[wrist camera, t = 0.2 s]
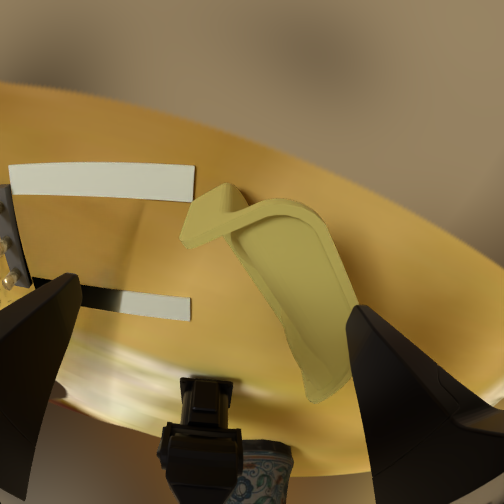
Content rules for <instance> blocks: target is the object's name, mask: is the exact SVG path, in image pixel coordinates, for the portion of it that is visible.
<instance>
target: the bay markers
mask: <svg viewBox="0 0 504 504" xmlns="http://www.w3.org/2000/svg"><path fill="white" fill-rule="evenodd" d="M194 171H195V166H191V165H175V164H157V163H129V162H59V163H34V164H17V165H9V174H10V182H11V189H12V194H29V195H74V196H99V197H120V198H138V199H153V200H168V201H181V202H192V201H193V187H194ZM32 280H33V283H34V287H35V290H36V289H37V288H39V287H41V286H43V285H45V284H46V283H48V282H50V281H52V280H50V279H44V278H38V277H33V276H32ZM80 286H81V290H82V303H81V306H83V307H88V308H94V309H100V310H107V311H113V312H120V313H127V314H134V315H141V316H149V317H157V318H166V319H174V320H184V321H190V298H186V297H176V296H167V295H158V294H149V293H141V292H133V291H125V290H117V289H110V288H102V287H95V286H88V285H82V284H80Z"/></svg>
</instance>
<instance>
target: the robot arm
mask: <svg viewBox="0 0 504 504" xmlns="http://www.w3.org/2000/svg"><path fill="white" fill-rule="evenodd" d="M81 303H82V290H81V286H80V281H79V277H78V275H77V274H73V273H64V274H63V275H61V276H59V277H57V278H55V279H54V280H52V281H50V282H48V283H46V284H45V285H43V286H41V287H39V288H37V289H36V290H34V291H32V292H30V293H29V294H27V295H25V296H24V297H22V298H20V299H18V300H17V301H15V302H13V303H12V304H10V305H8V306H7V307H5V308H3V309H2V310H0V488H1V489H3V490H4V491H6V492H8V493H10V494H12V495H14V496H15V497H17V498H19V499H21V500H23V501H25V499H26V494H27V488H28V482H29V476H30V471H31V466H32V461H33V457H34V452H35V446H36V443H37V439H38V435H39V431H40V427H41V424H42V420H43V417H44V413H45V410H46V407H47V403H48V400H49V397H50V394H51V391H52V388H53V385H54V382H55V379H56V376H57V373H58V371H59V368H60V365H61V362H62V360H63V357H64V354H65V352H66V349H67V347H68V344H69V341H70V339H71V335H72V332H73V329H74V325H75V322H76V319H77V315H78V312H79V309H80V306H81ZM345 330H346V337H347V345H348V353H349V361H350V368H351V372H352V377H353V381H354V386H355V390H356V395H357V399H358V404H359V408H360V413H361V418H362V423H363V428H364V433H365V438H366V444H367V449H368V455H369V461H370V466H371V472H372V477H373V478H372V480H373V486H374V493H375V500H376V504H504V410H500V409H496V408H494V407H492V406H491V405H489V404H488V403H486V402H485V401H484V400H482V399H481V398H480V397H478V396H477V395H476V394H474V393H473V392H472V391H470V390H469V389H468V388H466V387H465V386H464V385H462V384H461V383H460V382H458V381H457V380H456V379H455V378H453V377H452V376H451V375H450V374H449V373H447V372H446V371H445V370H444V369H443V368H442V367H440V366H439V365H437V363H436V362H434V361H433V360H432V359H431V358H430V357H429V356H427V355H426V354H425V353H424V352H423V351H421V350H420V349H419V348H418V347H417V346H416V345H414V344H413V343H412V342H411V341H410V340H408V339H407V338H406V337H405V336H404V335H402V334H401V333H400V332H399V331H398V330H396V329H395V328H394V327H393V326H391V325H390V324H389V323H388V322H387V321H385V320H384V319H383V318H382V317H380V316H379V315H378V314H377V313H376V312H374V311H373V310H372V309H371V308H369V307H368V306H367V305H355V306H354V307H353V309H352V311H351V313H350V316H349V318H348V320H347V322H346V327H345ZM180 388H181V398H182V404H183V406H182V414H181V423H180V424H175V423H172V422H167V426H166V427H163V431H162V437H161V441H160V444H159V447H158V450H157V457H158V458H159V459H160V462H161V466H162V469H164V470H166V479H167V482H168V485H169V487H170V490H171V491H172V493H173V495H174V497H175V498H176V500H177V502H178V503H179V504H225V503H226V502H227V501H228V499H229V498H230V496H231V495H232V493H233V491H234V489H235V487H236V485H237V482H238V476H242V473H243V446H242V435H241V429H238V428H236V429H228V408H230V403H231V396H232V389H233V383H232V382H230V381H216V380H204V379H194V378H184V377H182V378H180ZM0 504H1V503H0Z"/></svg>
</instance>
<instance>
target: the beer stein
mask: <svg viewBox="0 0 504 504" xmlns="http://www.w3.org/2000/svg"><path fill="white" fill-rule="evenodd" d="M242 446H243V473H242V476H238V482H237V485H236V487H235V489H234V491H233V493H232V495H231V496H230V498H229V499H228V501H227V502H226V503H225V504H286V497H287V489H288V481H289V477H290V473H291V470H292V468H293V465H294V461H293V458H292V455H291V449H290V446H287V445H285V444H283V443H281V442H277V441H270V440H242Z"/></svg>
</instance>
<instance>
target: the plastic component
mask: <svg viewBox="0 0 504 504" xmlns="http://www.w3.org/2000/svg"><path fill="white" fill-rule="evenodd" d="M221 236H223V237H224V239H225V240H226V242H227V243H228V245H229V246H230V248H231V249H232V251H233V252H234V254H235V255H236V257H237V258H238V260H239V261H240V262H241V264H242V265H243V267H244V268H245V270H246V271H247V273H248V274H249V276H250V277H251V279H252V280H253V282H254V283H255V285H256V286H257V287H258V289H259V290H260V292H261V293H262V295H263V296H264V298H265V299H266V301H267V302H268V303H269V305H270V306H271V308H272V309H273V311H274V312H275V314H276V315H277V317H278V318H279V320H280V322H281V323H282V325H283V327H284V331H285V334H286V338H287V341H288V344H289V347H290V349H291V351H292V354H293V356H294V358H295V360H296V362H297V363H298V365H299V367H300V368H301V372H302V377H303V382H304V387H305V392H306V397H307V399H308V400H309V401H310V402H312V403H314V404H317V403H320V402H322V401H324V400H325V399H327V398H329V397H330V396H332V395H333V394H334V393H336V392H337V391H338V390H339V389H340V388H342V387H343V386H344V385H345V384H346V383H347V382H348V380H349V379H350V378H351V377H352V372H351V368H350V361H349V353H348V345H347V337H346V330H345V327H346V322H347V320H348V318H349V316H350V313H351V311H352V309H353V307H354V306H355V305H359V303H358V300H357V297H356V295H355V292H354V290H353V287H352V285H351V282H350V280H349V278H348V275H347V273H346V270H345V268H344V265H343V263H342V261H341V258H340V256H339V254H338V251H337V249H336V247H335V244H334V242H333V240H332V238H331V235H330V233H329V231H328V229H327V226H326V224H325V223H324V221H323V220H322V218H321V217H320V216H319V215H318V214H317V213H316V212H315V211H314V210H312V209H311V208H310V207H308V206H306V205H305V204H303V203H300V202H297V201H294V200H290V199H281V198H276V199H268V200H264V201H260V202H258V203H256V204H254V205H251V206H249V205H248V203H247V202H246V200H245V198H244V197H243V195H242V194H241V192H240V191H239V190H238V189H237V187H236V186H234V185H233V184H231V183H223V184H222V185H220V186H218V187H216V188H214V189H213V190H211V191H209V192H207V193H206V194H204V195H202V196H200V197H199V198H197V199H195V200H193V201H192V203H191V205H190V208H189V211H188V214H187V216H186V219H185V222H184V225H183V228H182V231H181V234H180V236H179V239H180V241H181V242H182V244H183V245H184V246H185V248H187V249H193V248H196V247H199V246H201V245H203V244H205V243H208V242H210V241H212V240H214V239H217V238H219V237H221Z"/></svg>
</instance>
